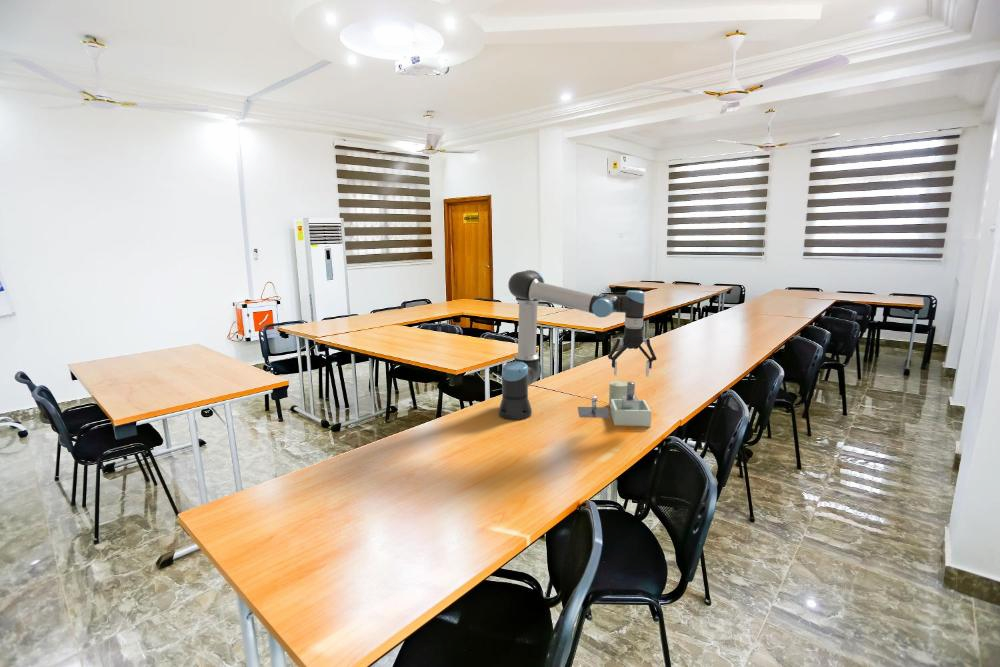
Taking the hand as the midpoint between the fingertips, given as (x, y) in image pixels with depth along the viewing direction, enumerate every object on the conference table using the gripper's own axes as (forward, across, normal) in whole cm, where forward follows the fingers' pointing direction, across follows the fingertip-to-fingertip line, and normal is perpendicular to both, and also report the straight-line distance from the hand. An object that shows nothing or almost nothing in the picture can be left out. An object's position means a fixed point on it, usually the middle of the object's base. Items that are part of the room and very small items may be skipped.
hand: (631, 375), depth 215 cm
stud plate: (+21, -14, +8) cm, 26 cm away
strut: (+19, 0, 0) cm, 19 cm away
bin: (+20, 0, 0) cm, 20 cm away
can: (+21, -2, +17) cm, 27 cm away
